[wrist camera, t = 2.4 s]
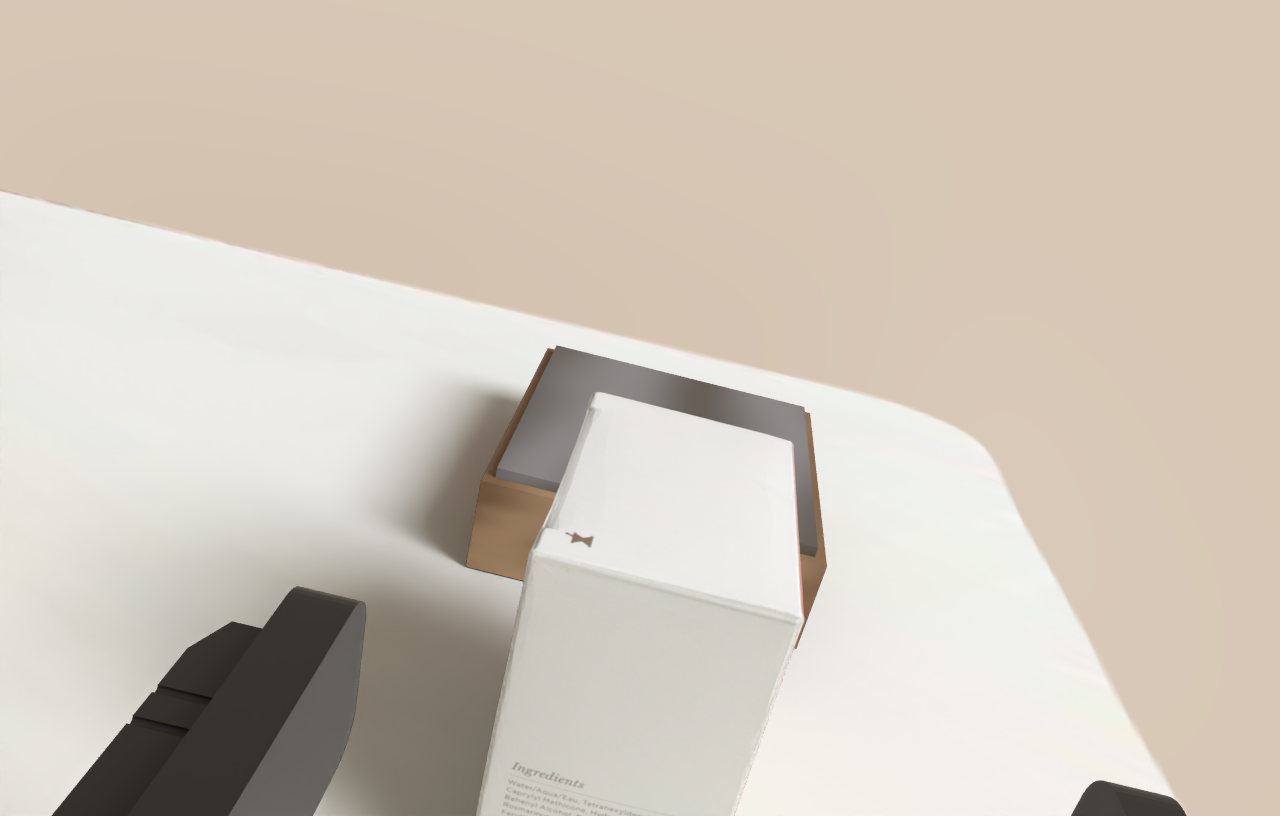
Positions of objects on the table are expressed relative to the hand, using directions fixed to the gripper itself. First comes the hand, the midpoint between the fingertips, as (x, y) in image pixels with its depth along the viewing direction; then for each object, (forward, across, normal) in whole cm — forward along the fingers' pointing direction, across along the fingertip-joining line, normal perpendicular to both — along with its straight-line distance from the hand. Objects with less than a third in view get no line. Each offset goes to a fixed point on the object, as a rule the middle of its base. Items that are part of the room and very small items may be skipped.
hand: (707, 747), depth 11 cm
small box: (+12, 0, +14) cm, 18 cm away
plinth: (+26, 0, +14) cm, 30 cm away
